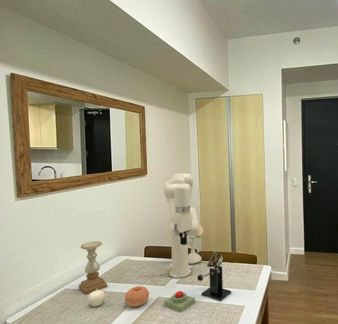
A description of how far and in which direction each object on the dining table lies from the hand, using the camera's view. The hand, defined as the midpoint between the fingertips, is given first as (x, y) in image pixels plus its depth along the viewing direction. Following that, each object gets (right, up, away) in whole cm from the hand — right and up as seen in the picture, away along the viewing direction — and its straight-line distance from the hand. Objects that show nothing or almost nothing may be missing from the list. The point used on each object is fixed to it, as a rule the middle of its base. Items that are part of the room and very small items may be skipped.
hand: (183, 244), depth 142 cm
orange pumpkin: (-20, -26, -10) cm, 34 cm away
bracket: (+17, -25, -2) cm, 30 cm away
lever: (+13, -17, 0) cm, 22 cm away
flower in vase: (-2, -24, +41) cm, 48 cm away
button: (0, -22, -11) cm, 24 cm away
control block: (0, -26, -11) cm, 28 cm away
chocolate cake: (+13, -24, +37) cm, 46 cm away
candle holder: (-51, -26, +8) cm, 58 cm away
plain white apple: (-40, -27, -10) cm, 49 cm away
